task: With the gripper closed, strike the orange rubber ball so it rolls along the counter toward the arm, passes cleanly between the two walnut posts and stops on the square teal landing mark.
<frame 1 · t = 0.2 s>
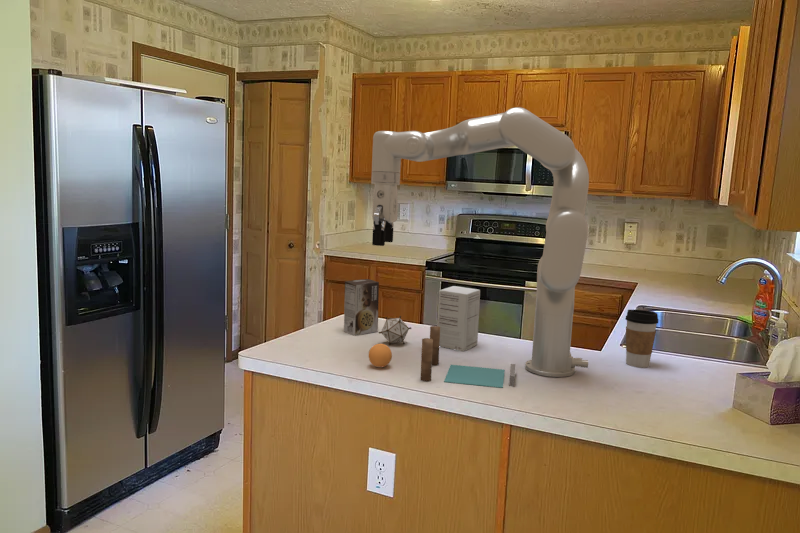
hand: (382, 243, 163), 31 cm above the worktop, tool pointing down, fingers open, 9 cm apart
game die: (394, 344, 180), on the worktop
ball: (380, 355, 157), on the worktop
post far: (433, 364, 161), on the worktop
post near: (425, 379, 148), on the worktop
landing mark: (475, 376, 152), on the worktop
stopper strip: (511, 379, 151), on the worktop
coffee cup: (637, 365, 168), on the worktop
supplement box: (457, 346, 180), on the worktop
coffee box: (360, 332, 192), on the worktop
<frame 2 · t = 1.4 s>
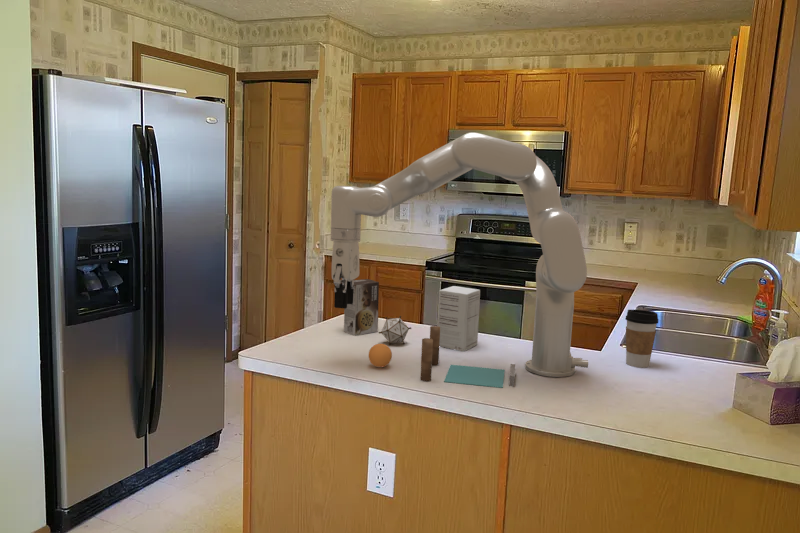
hand: (343, 305, 157), 15 cm above the worktop, tool pointing down, fingers open, 4 cm apart
nothing on the worktop moved.
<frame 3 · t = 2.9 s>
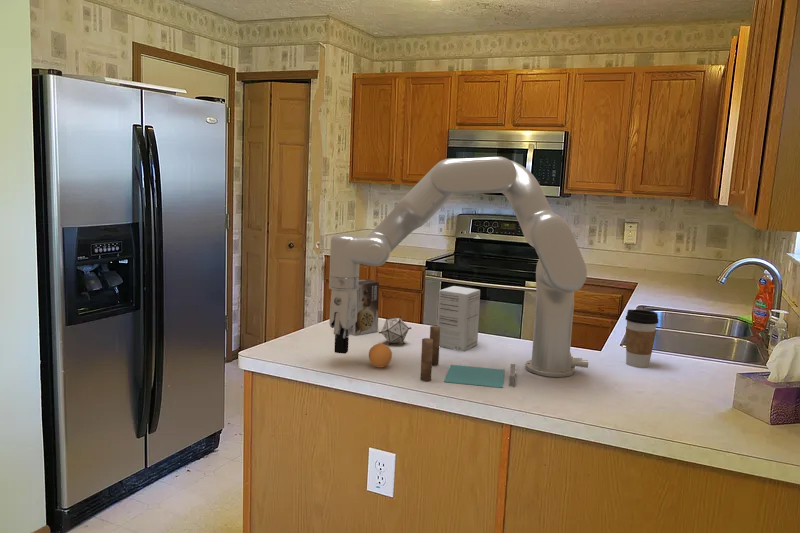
hand: (341, 352, 159), 3 cm above the worktop, tool pointing down, fingers closed
nothing on the worktop moved.
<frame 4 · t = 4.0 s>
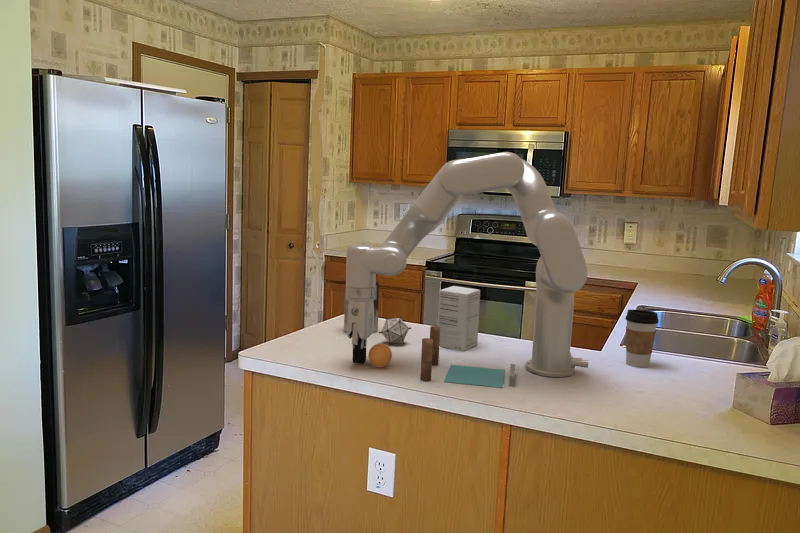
hand: (359, 362, 158), 1 cm above the worktop, tool pointing down, fingers closed
nothing on the worktop moved.
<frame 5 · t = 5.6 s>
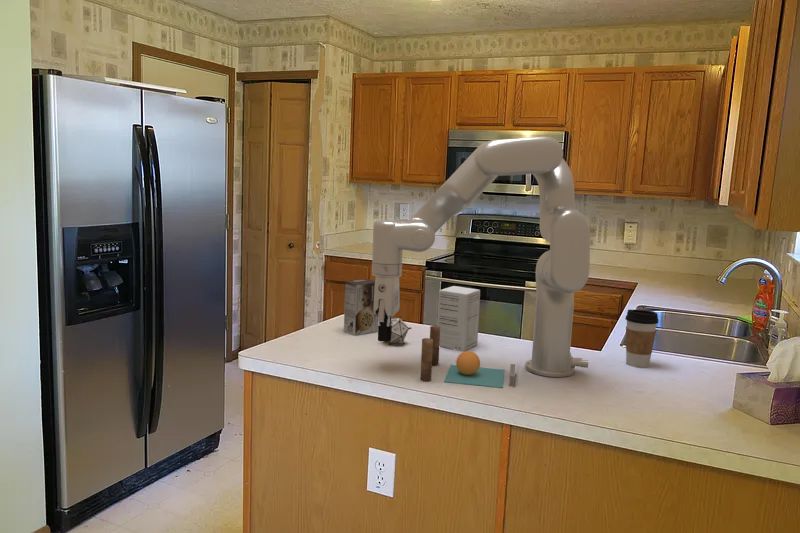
hand: (384, 340, 156), 7 cm above the worktop, tool pointing down, fingers closed
ball: (468, 363, 153), on the worktop
everything else where it was.
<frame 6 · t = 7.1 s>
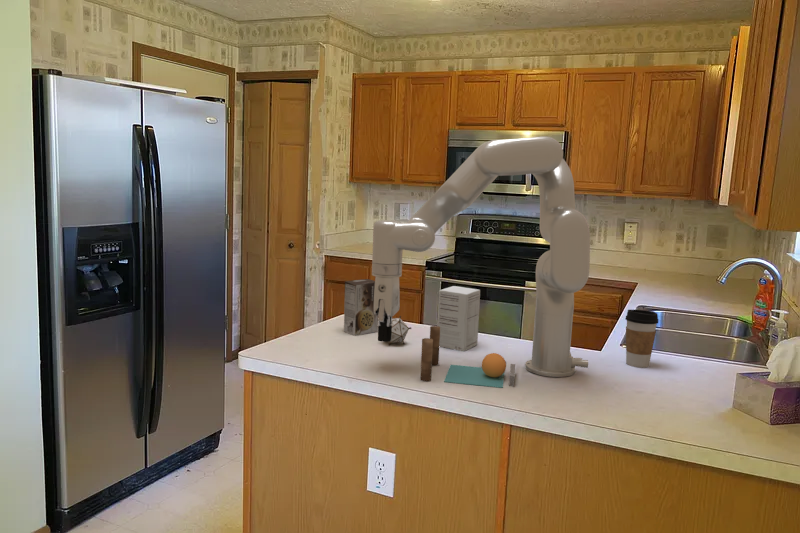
hand: (384, 340, 156), 7 cm above the worktop, tool pointing down, fingers closed
ball: (493, 365, 152), on the worktop
everything else where it was.
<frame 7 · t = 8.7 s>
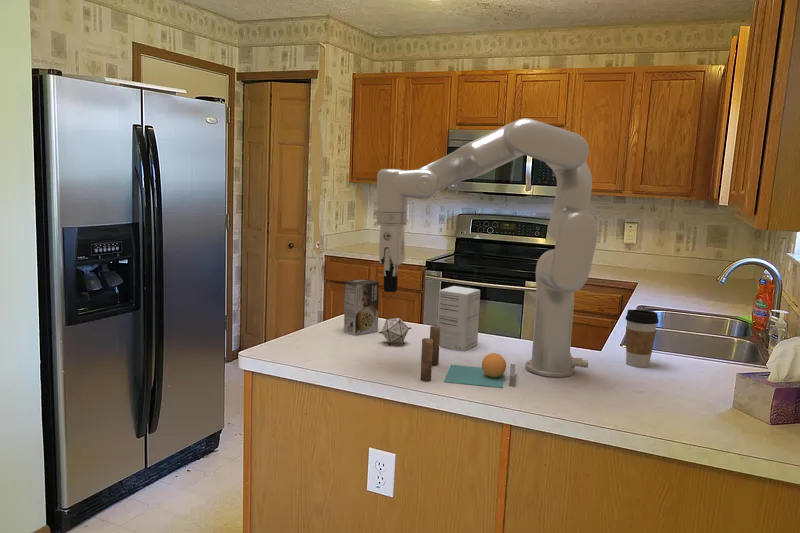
hand: (390, 291, 155), 20 cm above the worktop, tool pointing down, fingers closed
nothing on the worktop moved.
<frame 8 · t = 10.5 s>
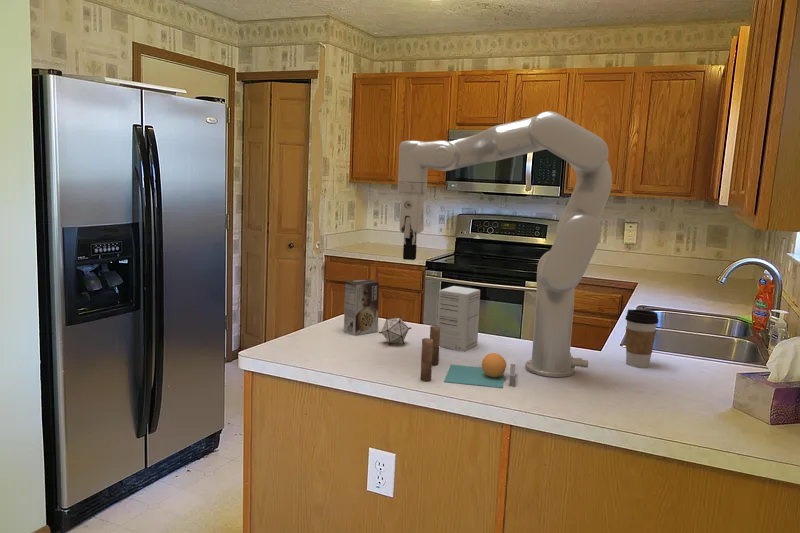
hand: (409, 259, 161), 27 cm above the worktop, tool pointing down, fingers closed
nothing on the worktop moved.
at the end: ball 4.4 cm from the landing mark (horizontally); ball never touched post near; ball never touched post far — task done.
